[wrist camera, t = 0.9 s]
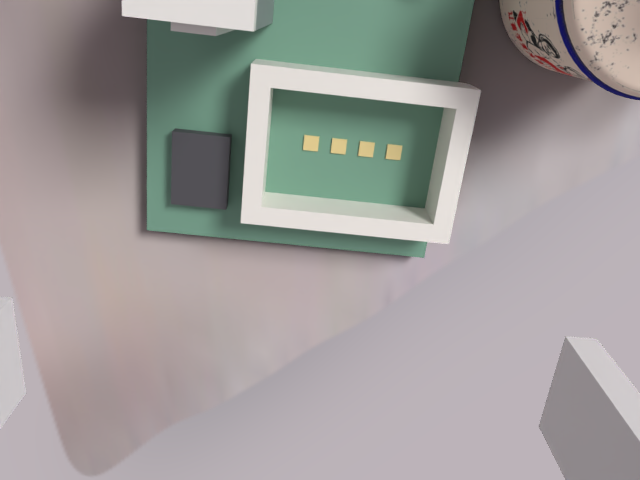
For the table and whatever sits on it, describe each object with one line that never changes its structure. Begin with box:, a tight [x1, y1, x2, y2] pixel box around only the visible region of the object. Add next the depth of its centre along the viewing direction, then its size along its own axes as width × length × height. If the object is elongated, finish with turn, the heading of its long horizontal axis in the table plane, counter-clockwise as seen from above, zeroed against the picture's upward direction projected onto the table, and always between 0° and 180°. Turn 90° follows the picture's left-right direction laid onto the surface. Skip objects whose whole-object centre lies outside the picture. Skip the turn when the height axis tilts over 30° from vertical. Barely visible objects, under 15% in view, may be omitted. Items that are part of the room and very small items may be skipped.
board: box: [147, 0, 474, 258], centre depth 30 cm, size 18×16×3 cm
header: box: [241, 59, 481, 244], centre depth 30 cm, size 8×11×3 cm
